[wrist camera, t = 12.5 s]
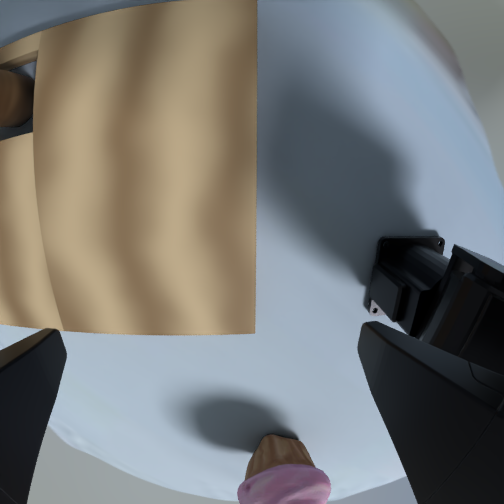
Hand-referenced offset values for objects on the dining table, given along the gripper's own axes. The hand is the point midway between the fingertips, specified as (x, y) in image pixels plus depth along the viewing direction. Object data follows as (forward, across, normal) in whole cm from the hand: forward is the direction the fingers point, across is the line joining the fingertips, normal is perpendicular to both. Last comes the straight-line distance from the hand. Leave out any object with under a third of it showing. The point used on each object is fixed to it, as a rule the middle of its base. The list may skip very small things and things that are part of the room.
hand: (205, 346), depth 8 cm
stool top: (+13, +8, -4) cm, 16 cm away
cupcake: (+13, -5, +24) cm, 28 cm away
